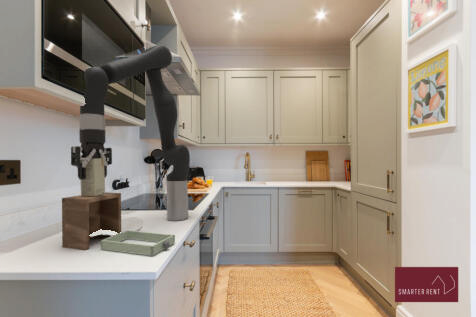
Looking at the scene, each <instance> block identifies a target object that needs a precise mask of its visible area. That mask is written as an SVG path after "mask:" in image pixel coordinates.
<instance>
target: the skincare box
mask: <svg viewBox="0 0 476 317" xmlns="http://www.w3.org/2000/svg"><path fill="white" fill-rule="evenodd" d="M84 168H86V179H84V180H80V195H81V196H98V195H104V194H105V192H106V182H105V178H106V177H105V174H104V159H91V160H90V161H89V162H88V163H87V164H86V166H85V167H84Z"/></svg>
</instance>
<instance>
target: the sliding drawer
mask: <svg viewBox="0 0 476 317" xmlns="http://www.w3.org/2000/svg"><path fill="white" fill-rule="evenodd" d="M127 239H129V240H130V239H131V240H140V241H148V242H157V243H154V244H152V245H150V244H142V243H135V242H134V243H133V242H125V241H124V240H127ZM175 243H176V235H175V234H171V233H169V234H167V233H159V232H147V231H146V232H145V231H136V230H129V229H128V230H125V231H121V233H119V234H116V235H114V236H107V237H105V238H104V239H101V240H100V249H101V250H107V251H115V252H125V253H132V254H138V255H139V254H140V255H147V256H154V255H156V254H158V253H160V252H162V251H163V250H165V249H166V248H167V249H168V248H169V247H170V246H172V245H173V244H175Z"/></svg>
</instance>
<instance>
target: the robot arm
mask: <svg viewBox="0 0 476 317" xmlns="http://www.w3.org/2000/svg"><path fill="white" fill-rule="evenodd" d="M172 61H173V55H172V53H171V50H170V49H169V48H168V47H167V46H165V45H163V44H157V45H153V46H151V47H147V48H146V49H144V50H143V52H142V53H140V54H136V55H132V56H128V57H124V58H119V59H116V60H112V61H109V62H107V63H104V64H103V65H99V66H91V67H88V68H85V69H86V70H85V69H84V70H85V73H84V78H85V82H86V91H85V92H84V93H85V94H84V95H83V97H84V98H85V103H86V104H85V105H84V106H80V105H79V113H80V114H79V123H78V125H79V126H78V127H79V131H78V132H79V137H78V138H79V143H80V146H79V145H74V146H71V147H70V165H71V166H74V167H77V178H78V179H79V181H81V180H84V179H86V168H84V167H85V166H86V164H87V163H88V162H89V161H90V160H91V159H104V174H105V178H107V176H108V166H109V165H112V163H113V149H112V147H105V146H104V144H106V141H107V140H106V118H105V117H106V116H105V101H106V98H107V94H108V91H109V85H111V84H117V83H119V82H123V81H125V80H129V79H130V78H132V77H135V76H137V75H140V74H142V73H145V74H146V77H147V81H148V84H149V88H150V92H151V97H152V102H153V106H154V112H155V115H156V121H157V126H158V132H159V137H160V144H161V145H160V146H161V154H162V160H163V161H164V163H165V164H166V165H168V166H172V171H170V172H169V173H167V175H166V220H167V221H173V222H174V221H177V222H178V221H183V220H185V221H186V220H187V219H188V218H189V195H188V194H189V192H188V191H189V190H188V180H189V179H188V178H189V173H190V164H191V163H190V159H191V156H190V151H189V148H188V147H187V146H186V145H183V144H176V140H175V130H176V129H175V128H176V125H177V121H178V108H177V104H176V100H175V97H174V96H173V94H172V92H171V91H170V90H169V89H168V87H167V86H166V84H165V83H164V79H163V75H162V70H164V69H166V68H168V67H169V66H171V64H172Z"/></svg>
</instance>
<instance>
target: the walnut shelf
mask: <svg viewBox="0 0 476 317" xmlns="http://www.w3.org/2000/svg"><path fill="white" fill-rule="evenodd" d="M61 226H62V227H61V233H62V236H61V239H62V240H61V241H62V242H61V247H62V248H69V249H74V250H82V251H87V250H89V249H90V239H93V238H95V237H90V236H89V235H90V234H92V233H93V232H96V231H98V230H100V229H102V230H111V231H115V232H117V233H118V234H119V233H120V232H121V233H122V193H121V192H107V191H105V194H104V195H98V196H81V194H79V196H78V195H73V196H66V197H62V198H61Z"/></svg>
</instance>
